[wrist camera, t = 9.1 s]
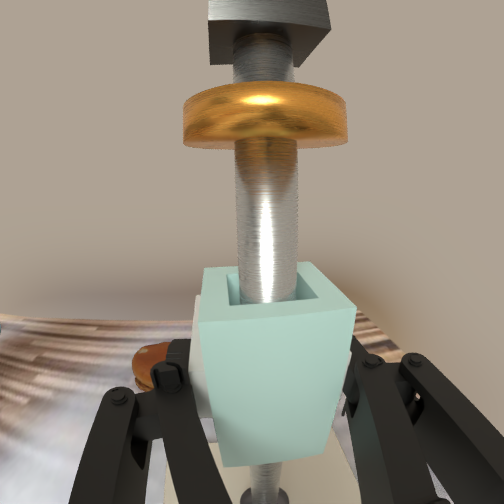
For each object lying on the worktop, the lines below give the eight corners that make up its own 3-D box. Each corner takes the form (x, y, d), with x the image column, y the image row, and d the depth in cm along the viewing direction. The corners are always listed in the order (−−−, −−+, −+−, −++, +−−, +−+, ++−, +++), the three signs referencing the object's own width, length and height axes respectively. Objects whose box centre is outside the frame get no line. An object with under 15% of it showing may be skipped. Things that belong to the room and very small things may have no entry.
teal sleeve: (223, 467, 9) (197, 322, 7) (219, 401, 14) (204, 267, 12) (323, 453, 10) (356, 306, 8) (299, 392, 14) (309, 261, 12)
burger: (191, 403, 32) (185, 378, 30) (128, 396, 31) (118, 372, 30) (201, 360, 41) (197, 336, 40) (147, 357, 41) (141, 334, 40)
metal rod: (237, 534, 13) (188, -65, 3) (232, 490, 18) (195, 6, 8) (299, 526, 13) (344, -50, 4) (287, 483, 18) (304, 10, 9)
